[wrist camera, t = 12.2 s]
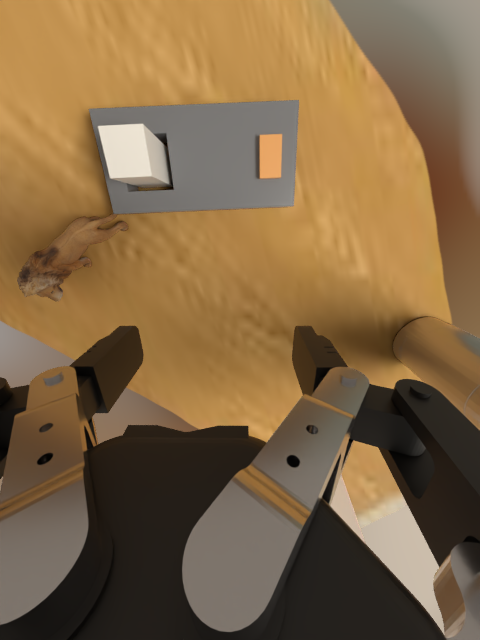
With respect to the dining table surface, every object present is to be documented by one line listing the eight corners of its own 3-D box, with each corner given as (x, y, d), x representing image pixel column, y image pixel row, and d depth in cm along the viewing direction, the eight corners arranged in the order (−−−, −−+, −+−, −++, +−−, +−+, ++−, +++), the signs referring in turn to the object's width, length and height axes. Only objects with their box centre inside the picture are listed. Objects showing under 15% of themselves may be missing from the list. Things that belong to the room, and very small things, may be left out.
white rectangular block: (168, 149, 29) (142, 123, 21) (174, 186, 31) (151, 176, 22) (136, 151, 29) (97, 125, 21) (143, 188, 31) (110, 178, 22)
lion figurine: (85, 291, 36) (41, 314, 28) (51, 267, 34) (-6, 284, 26) (138, 215, 32) (105, 216, 24) (103, 184, 30) (54, 173, 22)
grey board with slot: (291, 113, 28) (301, 96, 24) (287, 207, 32) (295, 205, 28) (105, 121, 28) (84, 105, 24) (125, 214, 32) (110, 213, 28)
